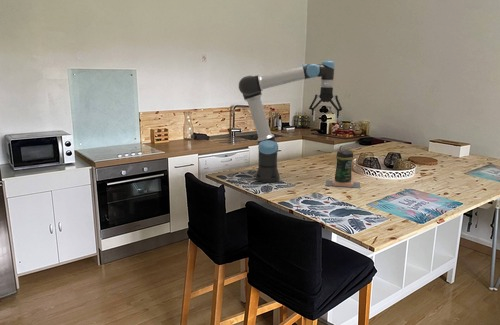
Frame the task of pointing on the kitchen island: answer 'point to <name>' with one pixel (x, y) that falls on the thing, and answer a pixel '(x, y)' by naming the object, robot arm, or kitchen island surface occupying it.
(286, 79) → the robot arm
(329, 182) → the mat
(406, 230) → the kitchen island surface
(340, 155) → the coffee jar
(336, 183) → the tile
